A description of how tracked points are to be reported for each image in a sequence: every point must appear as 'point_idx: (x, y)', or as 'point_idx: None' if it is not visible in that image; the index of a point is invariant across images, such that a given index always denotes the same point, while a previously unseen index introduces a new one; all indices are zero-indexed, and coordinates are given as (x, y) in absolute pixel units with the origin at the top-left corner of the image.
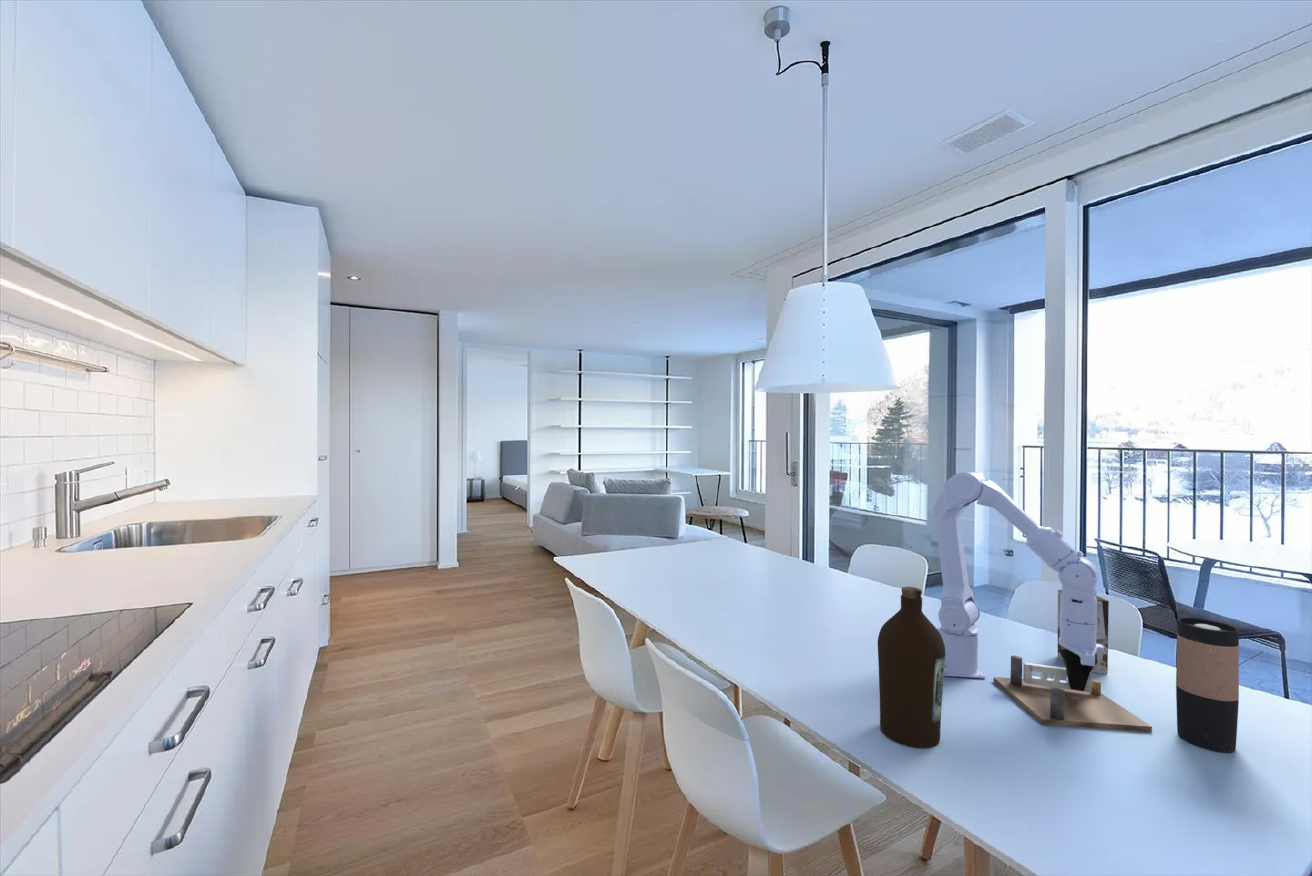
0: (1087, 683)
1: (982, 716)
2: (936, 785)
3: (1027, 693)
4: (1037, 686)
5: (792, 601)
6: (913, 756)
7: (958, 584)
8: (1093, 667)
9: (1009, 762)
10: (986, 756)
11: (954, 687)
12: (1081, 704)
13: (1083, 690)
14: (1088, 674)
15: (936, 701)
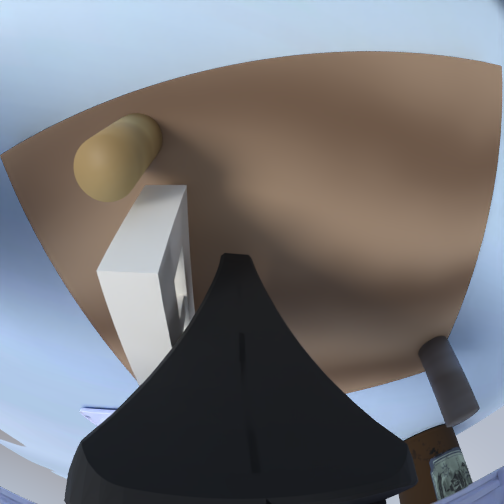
0: (179, 240)
1: (384, 415)
2: (495, 406)
3: None
4: None
5: (26, 456)
6: (457, 426)
7: None
8: (357, 408)
9: (496, 379)
10: (479, 395)
11: None
12: (333, 263)
13: (251, 261)
14: (301, 350)
15: (467, 468)
